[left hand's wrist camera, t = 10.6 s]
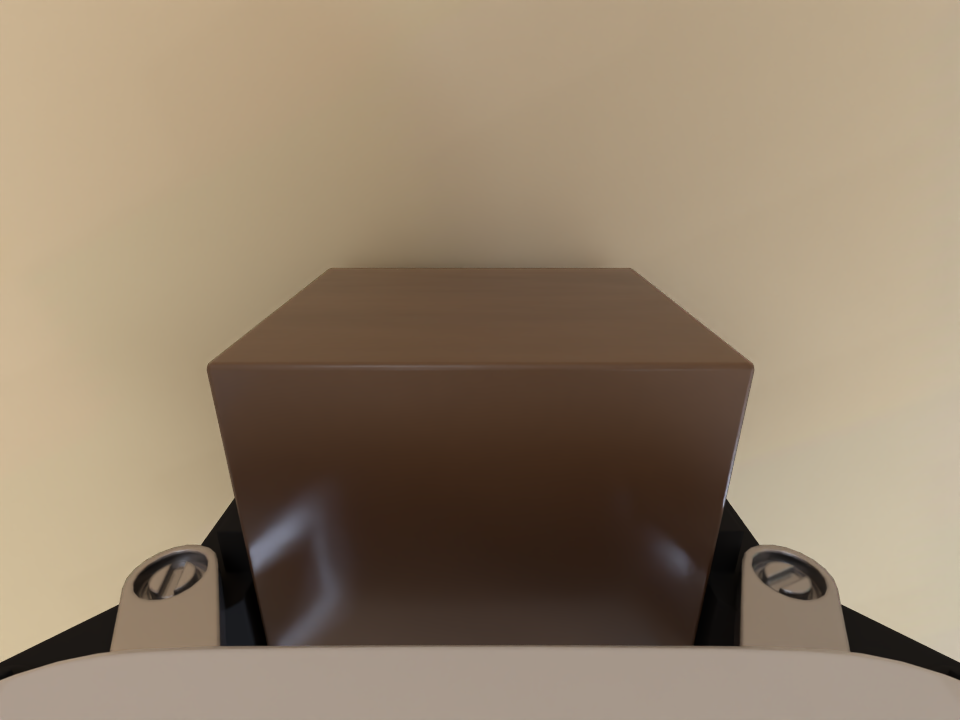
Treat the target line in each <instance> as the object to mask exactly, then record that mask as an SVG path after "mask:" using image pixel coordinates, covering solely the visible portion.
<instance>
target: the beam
mask: <svg viewBox="0 0 960 720" xmlns="http://www.w3.org/2000/svg"><path fill="white" fill-rule="evenodd" d="M207 373H208V377H209V382H210V387H211V391H212V396H213V400H214V405H215V409H216V414H217V418H218V423H219V427H220V432H221V437H222V441H223V446H224V450H225V455H226V459H227V464H228V468H229V473H230V478H231V482H232V487H233V491H234V496H235V500H236V505H237V509H238V514H239V519H240V523H241V528H242V532H243V537H244V541H245V546H246V550H247V555H248V560H249V564H250V569H251V573H252V578H253V582H254V587H255V591H256V596H257V601H258V605H259V610H260V614H261V619H262V623H263V628H264V632H265V637H266V642H267V646H340V645H620V646H694V642H695V637H696V633H697V628H698V623H699V619H700V614H701V610H702V605H703V601H704V596H705V592H706V587H707V583H708V578H709V574H710V569H711V565H712V560H713V555H714V551H715V546H716V542H717V537H718V533H719V528H720V524H721V519H722V515H723V510H724V506H725V501H726V496H727V492H728V487H729V483H730V478H731V474H732V469H733V465H734V460H735V456H736V451H737V447H738V442H739V437H740V433H741V428H742V424H743V419H744V415H745V410H746V406H747V401H748V397H749V392H750V388H751V383H752V379H753V374H754V365H753V363H751V362H750V361H749V360H747V359H746V358H745V357H744V356H742V355H741V354H740V353H739V352H737V351H736V350H735V349H733V348H732V347H731V346H730V345H728V344H727V343H726V342H725V341H723V340H722V339H721V338H719V337H718V336H717V335H716V334H714V333H713V332H712V331H711V330H709V329H708V328H707V327H705V326H704V325H703V324H702V323H700V322H699V321H698V320H697V319H695V318H694V317H693V316H691V315H690V314H689V313H688V312H686V311H685V310H684V309H683V308H681V307H680V306H679V305H677V304H676V303H675V302H674V301H672V300H671V299H670V298H669V297H667V296H666V295H665V294H663V293H662V292H661V291H660V290H658V289H657V288H656V287H655V286H653V285H652V284H651V283H649V282H648V281H647V280H646V279H644V278H643V277H642V276H641V275H639V274H638V273H637V272H635V271H634V270H633V269H631V268H330V269H328V270H327V271H326V272H324V273H323V274H322V275H321V276H319V277H318V278H317V279H316V280H314V281H313V282H312V283H310V284H309V285H308V286H307V287H305V288H304V289H303V290H301V291H300V292H299V293H298V294H296V295H295V296H294V297H293V298H291V299H290V300H289V301H287V302H286V303H285V304H284V305H282V306H281V307H280V308H279V309H277V310H276V311H275V312H273V313H272V314H271V315H270V316H268V317H267V318H266V319H264V320H263V321H262V322H261V323H259V324H258V325H257V326H256V327H254V328H253V329H252V330H250V331H249V332H248V333H247V334H245V335H244V336H243V337H242V338H240V339H239V340H238V341H236V342H235V343H234V344H233V345H231V346H230V347H229V348H227V349H226V350H225V351H224V352H222V353H221V354H220V355H219V356H217V357H216V358H215V359H213V360H212V361H211V362H210V363H208V366H207Z"/></svg>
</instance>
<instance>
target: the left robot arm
mask: <svg viewBox="0 0 960 720" xmlns="http://www.w3.org/2000/svg"><path fill="white" fill-rule="evenodd" d="M0 720H960V663H959V662H957V661H955V660H953V659H951V658H949V657H947V656H945V655H943V654H941V653H939V652H937V651H935V650H933V649H931V648H929V647H927V646H925V645H923V644H921V643H919V642H917V641H915V640H913V639H911V638H909V637H906V636H904V635H902V634H900V633H898V632H896V631H894V630H892V629H890V628H888V627H886V626H884V625H882V624H880V623H878V622H876V621H874V620H872V619H870V618H868V617H866V616H864V615H862V614H860V613H858V612H856V611H854V610H852V609H850V608H847V607H845V606H843V605H841V602H840V597H839V592H838V588H837V586H836V583H835V581H834V579H833V577H832V576H831V575H830V574H829V573H828V572H827V570H826V569H825V568H824V567H822V566H821V565H820V564H818V563H817V562H816V561H815V560H813V559H811V558H809V557H808V556H806V555H804V554H802V553H800V552H797V551H795V550H792V549H789V548H786V547H781V546H776V545H759V544H758V542H757V541H756V539H755V538H754V537H753V535H752V534H751V532H750V531H749V530H748V528H747V527H746V526H745V524H744V523H743V521H742V520H741V519H740V517H739V516H738V514H737V513H736V512H735V510H734V509H733V507H732V506H731V505H730V503H729V502H728V500H727V499H726V501H725V506H724V510H723V515H722V519H721V524H720V528H719V533H718V537H717V542H716V546H715V551H714V555H713V560H712V565H711V569H710V574H709V578H708V583H707V587H706V592H705V596H704V601H703V605H702V610H701V614H700V619H699V623H698V628H697V633H696V637H695V642H694V646H620V645H340V646H267V642H266V637H265V632H264V628H263V623H262V619H261V614H260V610H259V605H258V601H257V596H256V591H255V587H254V582H253V578H252V573H251V569H250V564H249V560H248V555H247V550H246V546H245V541H244V537H243V532H242V528H241V523H240V519H239V514H238V509H237V505H236V500H235V498H234V500H233V501H232V503H231V504H230V505H229V507H228V508H227V510H226V511H225V512H224V514H223V515H222V516H221V518H220V519H219V521H218V522H217V523H216V525H215V526H214V528H213V529H212V530H211V532H210V533H209V535H208V536H207V537H206V539H205V540H204V542H203V543H202V544H201V545H184V546H179V547H174V548H171V549H168V550H165V551H163V552H160V553H158V554H156V555H154V556H152V557H151V558H149V559H147V560H145V561H144V562H143V563H142V564H140V565H139V566H138V567H136V568H135V569H134V570H133V572H132V573H131V574H130V575H129V576H128V577H127V579H126V581H125V583H124V586H123V588H122V592H121V597H120V602H119V605H117V606H115V607H113V608H111V609H109V610H107V611H105V612H103V613H101V614H99V615H97V616H95V617H93V618H90V619H88V620H86V621H84V622H82V623H80V624H78V625H76V626H74V627H72V628H70V629H68V630H66V631H64V632H62V633H60V634H58V635H56V636H54V637H52V638H50V639H48V640H46V641H44V642H42V643H40V644H38V645H35V646H33V647H31V648H29V649H27V650H25V651H23V652H21V653H19V654H17V655H15V656H13V657H11V658H9V659H7V660H5V661H3V662H1V663H0Z"/></svg>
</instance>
